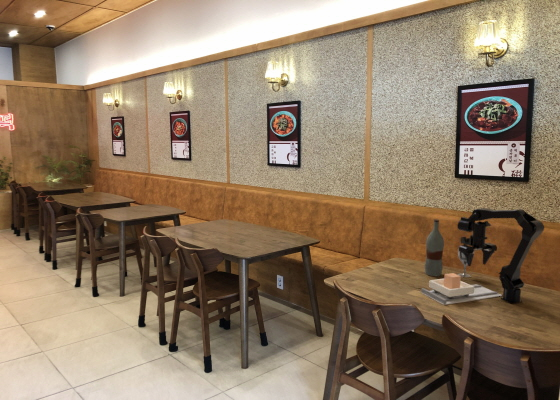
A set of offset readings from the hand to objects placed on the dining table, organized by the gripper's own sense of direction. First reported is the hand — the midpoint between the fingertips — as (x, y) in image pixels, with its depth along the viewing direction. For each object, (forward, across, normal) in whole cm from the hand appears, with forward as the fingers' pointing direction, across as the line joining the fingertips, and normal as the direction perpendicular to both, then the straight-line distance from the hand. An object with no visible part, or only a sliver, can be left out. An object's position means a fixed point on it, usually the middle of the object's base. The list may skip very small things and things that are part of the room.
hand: (476, 265), depth 215 cm
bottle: (+12, +4, -26) cm, 29 cm away
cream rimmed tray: (+11, +18, +4) cm, 22 cm away
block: (+8, +18, +4) cm, 20 cm away
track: (+12, +12, +4) cm, 17 cm away
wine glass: (+12, -10, -18) cm, 24 cm away
